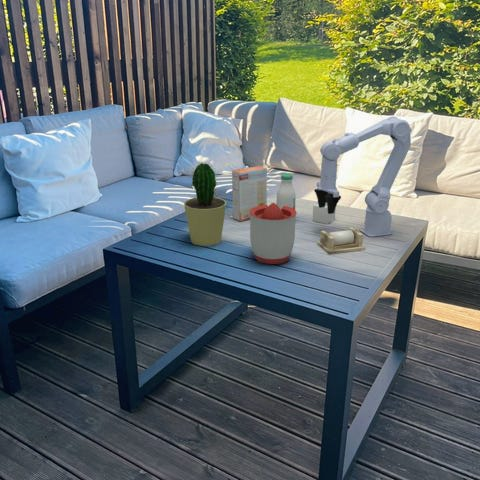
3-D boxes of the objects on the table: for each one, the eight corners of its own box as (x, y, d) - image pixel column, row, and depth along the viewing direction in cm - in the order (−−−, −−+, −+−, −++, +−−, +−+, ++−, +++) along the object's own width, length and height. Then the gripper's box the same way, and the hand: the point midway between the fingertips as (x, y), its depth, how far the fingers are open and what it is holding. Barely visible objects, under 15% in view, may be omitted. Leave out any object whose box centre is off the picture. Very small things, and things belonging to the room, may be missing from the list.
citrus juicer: (296, 249, 182) (298, 195, 175) (292, 269, 167) (295, 211, 159) (253, 246, 185) (254, 193, 178) (245, 265, 169) (246, 208, 162)
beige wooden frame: (317, 244, 187) (317, 230, 185) (351, 239, 191) (352, 226, 189) (329, 254, 178) (330, 239, 176) (364, 249, 182) (366, 235, 180)
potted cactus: (235, 240, 191) (235, 161, 179) (205, 251, 180) (203, 168, 169) (207, 230, 200) (205, 154, 189) (177, 240, 190) (173, 161, 179)
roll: (346, 239, 187) (348, 227, 185) (352, 246, 183) (355, 234, 181) (326, 241, 185) (328, 229, 182) (332, 248, 181) (334, 236, 178)
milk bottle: (289, 226, 204) (291, 178, 197) (272, 223, 208) (273, 175, 201) (297, 221, 210) (299, 173, 203) (281, 217, 214) (282, 171, 207)
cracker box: (258, 212, 221) (259, 165, 213) (267, 216, 216) (268, 167, 208) (231, 218, 213) (231, 169, 206) (239, 222, 209) (239, 172, 201)
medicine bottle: (335, 219, 212) (337, 191, 208) (328, 224, 206) (330, 196, 202) (319, 216, 216) (321, 189, 211) (312, 221, 210) (313, 193, 206)
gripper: (310, 171, 192) (308, 205, 197) (327, 181, 179) (325, 217, 184) (327, 170, 194) (324, 203, 199) (345, 179, 181) (342, 215, 186)
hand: (326, 210), depth 192 cm, fingers open, 7 cm apart
